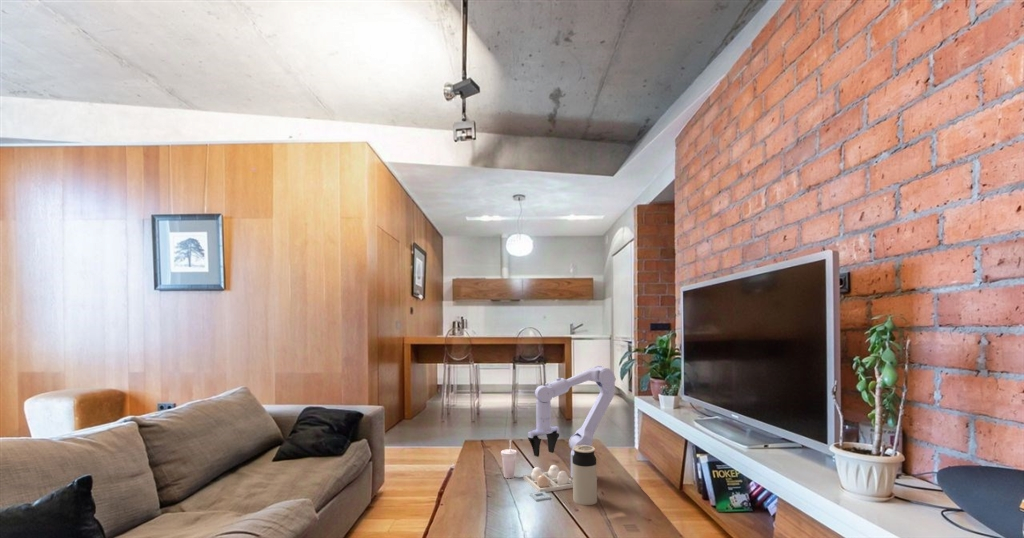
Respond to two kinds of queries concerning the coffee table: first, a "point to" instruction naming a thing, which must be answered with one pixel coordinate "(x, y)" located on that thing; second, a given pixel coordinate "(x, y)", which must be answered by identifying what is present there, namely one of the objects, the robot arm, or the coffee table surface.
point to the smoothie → (509, 462)
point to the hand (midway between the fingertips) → (543, 454)
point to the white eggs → (552, 474)
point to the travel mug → (584, 475)
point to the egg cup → (534, 496)
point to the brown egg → (543, 481)
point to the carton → (552, 482)
